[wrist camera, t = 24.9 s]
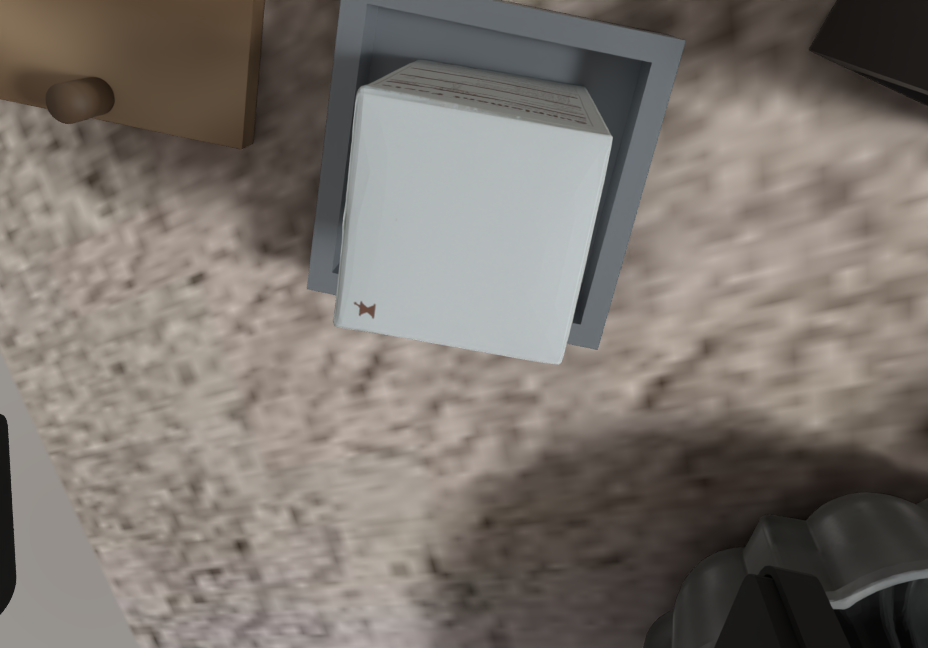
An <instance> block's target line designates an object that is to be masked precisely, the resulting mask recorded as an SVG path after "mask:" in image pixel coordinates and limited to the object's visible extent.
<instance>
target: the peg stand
mask: <svg viewBox="0 0 928 648" xmlns="http://www.w3.org/2000/svg"><path fill="white" fill-rule="evenodd" d="M264 5H265V0H0V99H2V100H7V101H12V102H17V103H21V104H26V105H31V106H36V107H41V108H45V109H48V111H49V112H50V114H51V115H52V116H53V117H54V118H55V119H56V120H58V121H60V122H62V123H65V124H72V123H76V122H79V121H83V120H86V119H90V118H93V119H98V120H103V121H108V122H113V123H117V124H122V125H127V126H132V127H137V128H141V129H146V130H151V131H156V132H160V133H165V134H170V135H175V136H180V137H184V138H189V139H194V140H199V141H204V142H208V143H213V144H218V145H223V146H228V147H232V148H237V149H244V148H246V147H247V146H249V145H251V144H253V140H254V128H255V115H256V103H257V91H258V78H259V66H260V54H261V42H262V29H263V17H264Z"/></svg>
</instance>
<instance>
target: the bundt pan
mask: <svg viewBox="0 0 928 648" xmlns="http://www.w3.org/2000/svg"><path fill="white" fill-rule="evenodd" d="M769 565H770V566H775V567H780V568H784V569H789V570H794V571H798V572H803V573H808V574H812V575H814V576H816V577H817V578H818V580H819V581H820V583H821V584H822V586H823V589H824V591H825V593H826V595H827V597H828V599H829V602H830V604H831V606H832V608H833V610H834V612H835V615H836V617H837V619H838V621H839V623H840V625H841V627H842V630H843V632H844V634H845V636H846V638H847V640H848V643H849V645H850V647H851V648H928V498H927V499H925V500H923V501H921V502H919V503H917V504H914V503H911V502H909V501H907V500H904V499H902V498H898V497H895V496H891V495H886V494H879V493H869V492H863V493H854V494H849V495H844V496H841V497H838V498H836V499H833V500H831V501H829V502H827V503H826V504H824V505H822V506H821V507H819V508H818V509H817V510H816V511H814V512H813V513H812V514H811V516H810V517H809V518H808V519H807V520H799V519H793V518H787V517H781V516H775V515H769V514H767V515H764V516H762V517H761V519H760V520H759V522H758V524H757V526H756V528H755V530H754V532H753V534H752V536H751V538H750V540H749V541H748V543H747V545H746V547H737V548H731V549H726V550H723V551H719V552H717V553H715V554H713V555H711V556H709V557H707V558H706V559H704V560H703V561H701V562H700V563H699V564H698V565H697V566H696V567H694V569H693V570H692V571H691V572H690V574H689V575H688V576H687V577H686V579H685V581H684V582H683V584H682V586H681V589H680V591H679V594H678V596H677V599H676V603H675V607H674V610H672V611H669V612H667V613H666V614H664V615H663V616H661V617H659V619H658V620H657V621H656V622H655V623H654V624H653V625H652V627H651V628H650V630H649V632H648V634H647V636H646V639H645V643H644V647H643V648H714V647H715V644H716V642H717V640H718V637H719V635H720V633H721V630H722V628H723V626H724V623H725V621H726V619H727V616H728V614H729V612H730V609H731V607H732V605H733V602H734V600H735V598H736V595H737V593H738V591H739V588H740V586H741V584H742V582H743V580H744V578H745V577H746V576H747V575H748V574H755V575H758V574H759V572H760V571H761V569H763V568H764V567H765V566H769Z"/></svg>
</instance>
